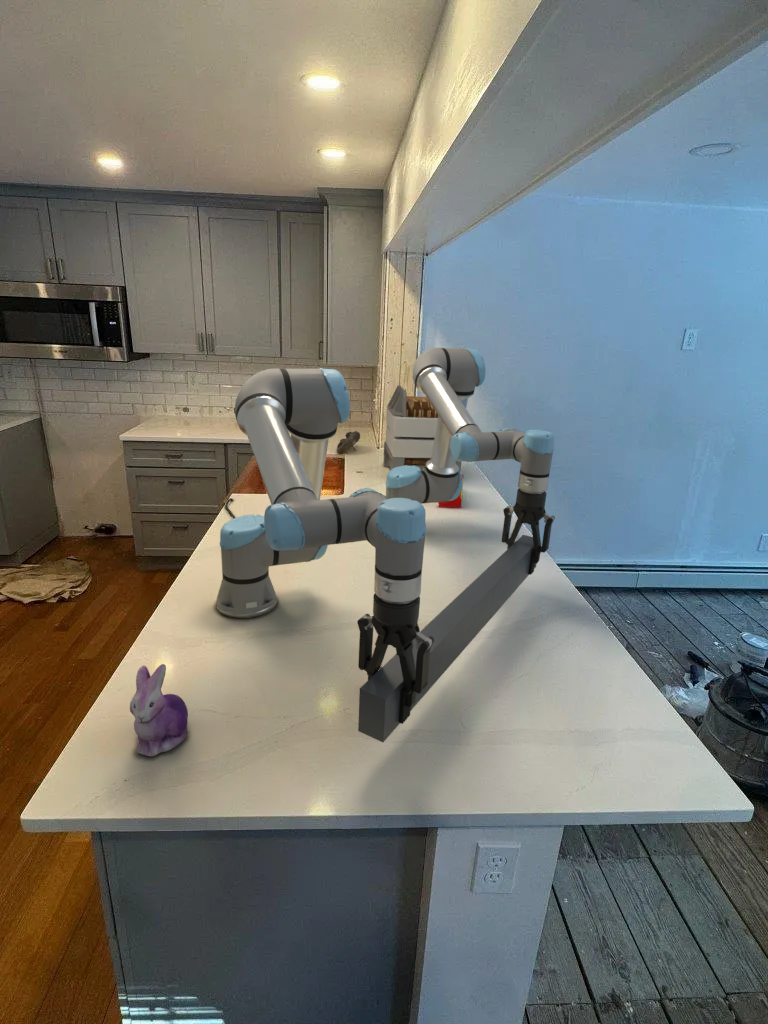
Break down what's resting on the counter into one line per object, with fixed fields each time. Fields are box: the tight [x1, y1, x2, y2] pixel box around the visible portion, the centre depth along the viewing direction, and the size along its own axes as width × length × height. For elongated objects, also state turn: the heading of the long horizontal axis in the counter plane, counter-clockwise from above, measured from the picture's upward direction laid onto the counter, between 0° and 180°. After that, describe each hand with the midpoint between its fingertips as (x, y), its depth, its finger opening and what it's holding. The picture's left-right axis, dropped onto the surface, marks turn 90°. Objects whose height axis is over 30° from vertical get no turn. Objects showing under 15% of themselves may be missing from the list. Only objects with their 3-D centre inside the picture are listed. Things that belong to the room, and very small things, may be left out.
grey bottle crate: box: [383, 384, 463, 473], centre depth 268 cm, size 34×33×41 cm
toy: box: [438, 473, 464, 508], centre depth 240 cm, size 12×13×30 cm
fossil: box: [336, 430, 361, 454], centre depth 311 cm, size 22×10×15 cm
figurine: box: [129, 663, 189, 757], centre depth 99 cm, size 9×10×15 cm
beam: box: [357, 534, 537, 743], centre depth 127 cm, size 83×5×9 cm, turn 149°
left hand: (390, 712), depth 99 cm, fingers closed on beam, 5 cm apart
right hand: (521, 569), depth 157 cm, fingers closed on beam, 5 cm apart
